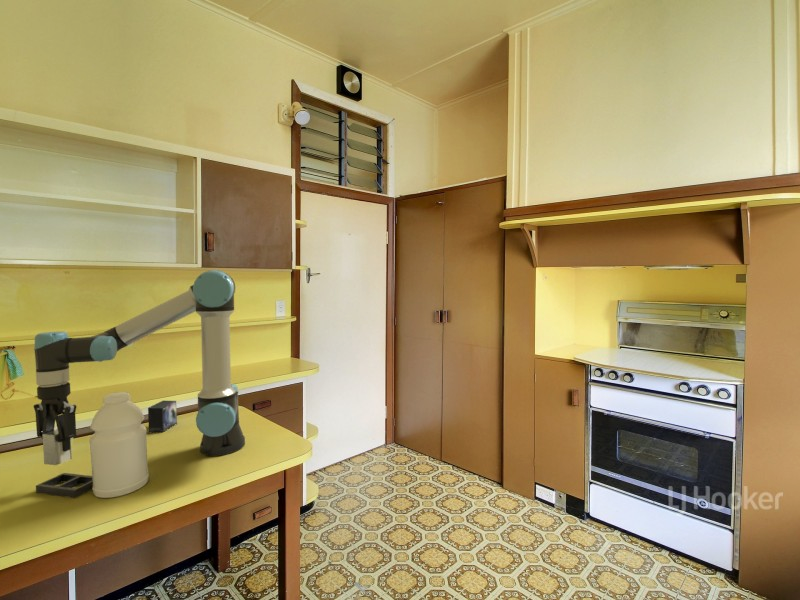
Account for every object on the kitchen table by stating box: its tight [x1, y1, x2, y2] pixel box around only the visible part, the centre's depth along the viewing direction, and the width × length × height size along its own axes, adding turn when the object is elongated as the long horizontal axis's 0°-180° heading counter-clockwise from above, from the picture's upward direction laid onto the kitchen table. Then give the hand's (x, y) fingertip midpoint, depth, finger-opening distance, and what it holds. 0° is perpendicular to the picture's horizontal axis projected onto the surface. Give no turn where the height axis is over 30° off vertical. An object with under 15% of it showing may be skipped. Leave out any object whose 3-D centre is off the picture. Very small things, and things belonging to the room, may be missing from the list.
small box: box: [147, 400, 178, 434], centre depth 170 cm, size 11×6×10 cm, turn 179°
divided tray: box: [35, 472, 93, 499], centre depth 121 cm, size 14×8×2 cm, turn 77°
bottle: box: [89, 391, 150, 499], centre depth 120 cm, size 14×14×28 cm
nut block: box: [42, 429, 72, 466], centre depth 121 cm, size 4×4×9 cm
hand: (57, 460), depth 121 cm, fingers closed on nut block, 4 cm apart
